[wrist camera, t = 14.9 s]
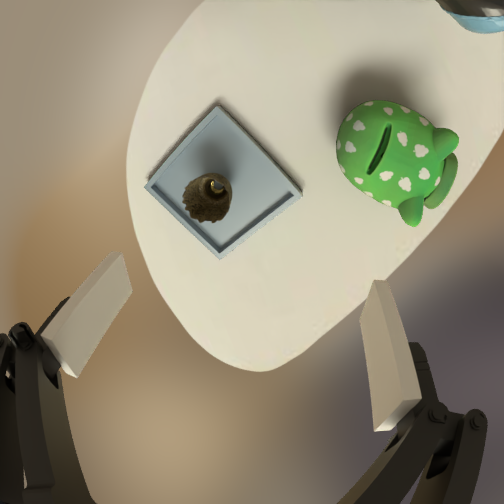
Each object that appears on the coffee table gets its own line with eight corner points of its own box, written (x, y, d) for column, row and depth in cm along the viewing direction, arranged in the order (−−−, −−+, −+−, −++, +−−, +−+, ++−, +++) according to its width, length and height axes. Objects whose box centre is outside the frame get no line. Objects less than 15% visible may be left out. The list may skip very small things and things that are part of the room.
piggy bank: (408, 203, 44) (442, 246, 31) (318, 163, 43) (327, 194, 31) (440, 134, 36) (489, 156, 24) (348, 84, 35) (373, 80, 23)
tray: (219, 105, 40) (216, 106, 39) (302, 192, 46) (302, 196, 45) (148, 183, 49) (143, 187, 48) (222, 254, 55) (219, 259, 54)
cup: (240, 165, 45) (230, 178, 38) (239, 206, 49) (230, 225, 42) (197, 163, 46) (180, 176, 39) (198, 203, 50) (183, 222, 43)
